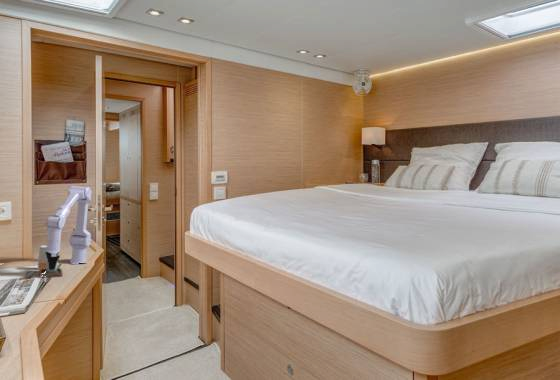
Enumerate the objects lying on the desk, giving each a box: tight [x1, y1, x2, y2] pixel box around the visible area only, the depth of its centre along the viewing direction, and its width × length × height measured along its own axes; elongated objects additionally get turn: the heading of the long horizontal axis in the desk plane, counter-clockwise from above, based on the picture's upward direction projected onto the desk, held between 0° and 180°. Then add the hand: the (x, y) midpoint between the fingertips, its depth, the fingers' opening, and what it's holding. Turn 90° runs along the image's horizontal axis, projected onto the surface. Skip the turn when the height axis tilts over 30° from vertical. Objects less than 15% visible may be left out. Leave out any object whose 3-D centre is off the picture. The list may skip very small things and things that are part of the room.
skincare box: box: [37, 245, 48, 271], centre depth 186 cm, size 6×4×12 cm
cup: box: [45, 260, 59, 274], centre depth 178 cm, size 5×5×6 cm
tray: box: [39, 267, 64, 278], centre depth 178 cm, size 9×9×2 cm
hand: (51, 267), depth 178 cm, fingers open, 6 cm apart
